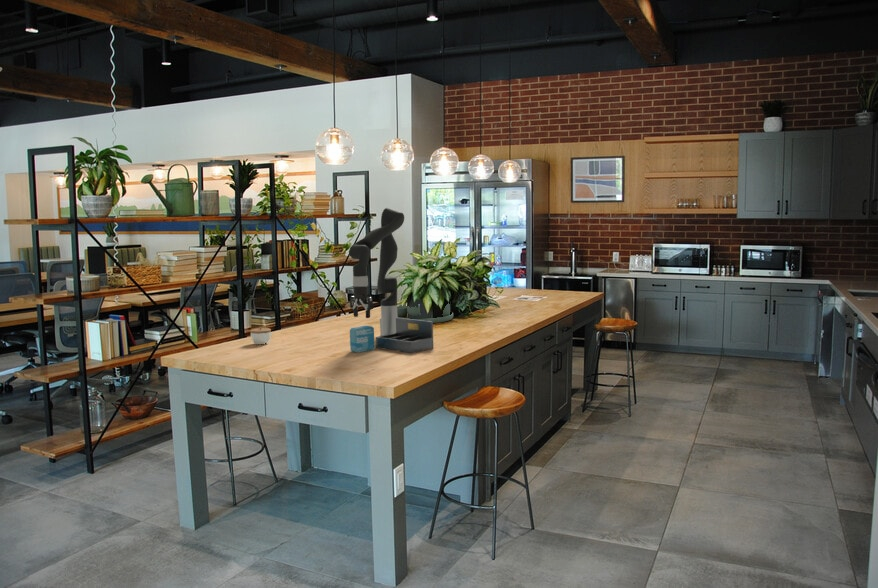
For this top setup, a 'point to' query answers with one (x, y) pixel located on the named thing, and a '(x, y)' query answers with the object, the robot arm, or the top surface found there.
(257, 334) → the lidded jar
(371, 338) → the blue flat rounded slab
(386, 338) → the rack
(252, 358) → the top surface
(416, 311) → the tea set
